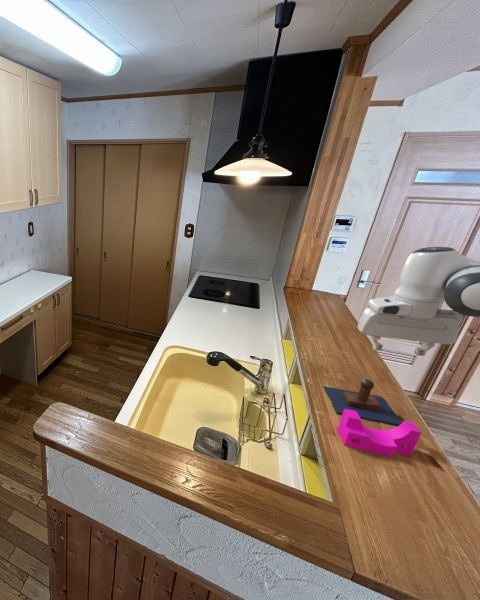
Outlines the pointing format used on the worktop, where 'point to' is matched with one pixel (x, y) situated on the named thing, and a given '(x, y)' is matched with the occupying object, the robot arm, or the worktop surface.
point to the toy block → (377, 436)
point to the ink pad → (382, 416)
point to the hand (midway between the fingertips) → (397, 352)
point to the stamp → (362, 397)
